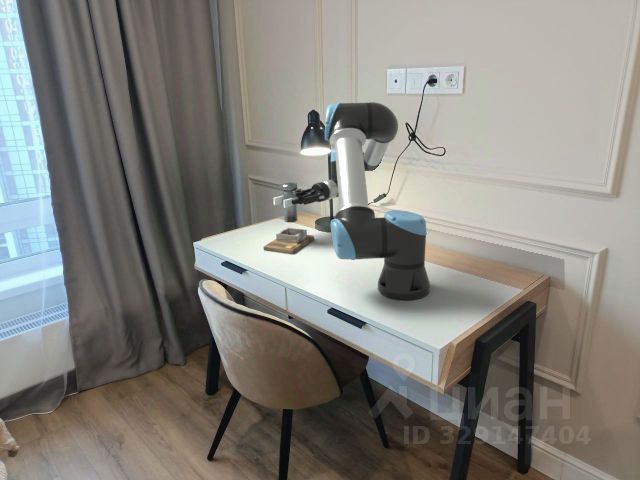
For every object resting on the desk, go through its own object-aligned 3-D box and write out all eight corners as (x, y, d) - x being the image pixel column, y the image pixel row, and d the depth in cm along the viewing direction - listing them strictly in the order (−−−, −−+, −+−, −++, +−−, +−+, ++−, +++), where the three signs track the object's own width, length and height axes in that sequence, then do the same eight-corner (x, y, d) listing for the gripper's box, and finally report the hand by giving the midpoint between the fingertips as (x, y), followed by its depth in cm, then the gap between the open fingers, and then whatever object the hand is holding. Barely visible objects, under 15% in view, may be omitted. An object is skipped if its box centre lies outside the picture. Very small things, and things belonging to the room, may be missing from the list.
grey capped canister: (294, 223, 178) (292, 186, 174) (280, 221, 181) (278, 185, 176) (301, 219, 183) (299, 183, 179) (288, 217, 186) (286, 182, 181)
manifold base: (292, 254, 173) (291, 242, 171) (263, 250, 178) (262, 238, 176) (314, 239, 188) (313, 228, 187) (287, 235, 193) (286, 225, 192)
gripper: (340, 204, 186) (296, 217, 171) (308, 196, 199) (264, 208, 183) (340, 185, 184) (295, 196, 169) (307, 179, 196) (263, 189, 181)
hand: (279, 202), depth 176 cm, fingers closed on grey capped canister, 5 cm apart
